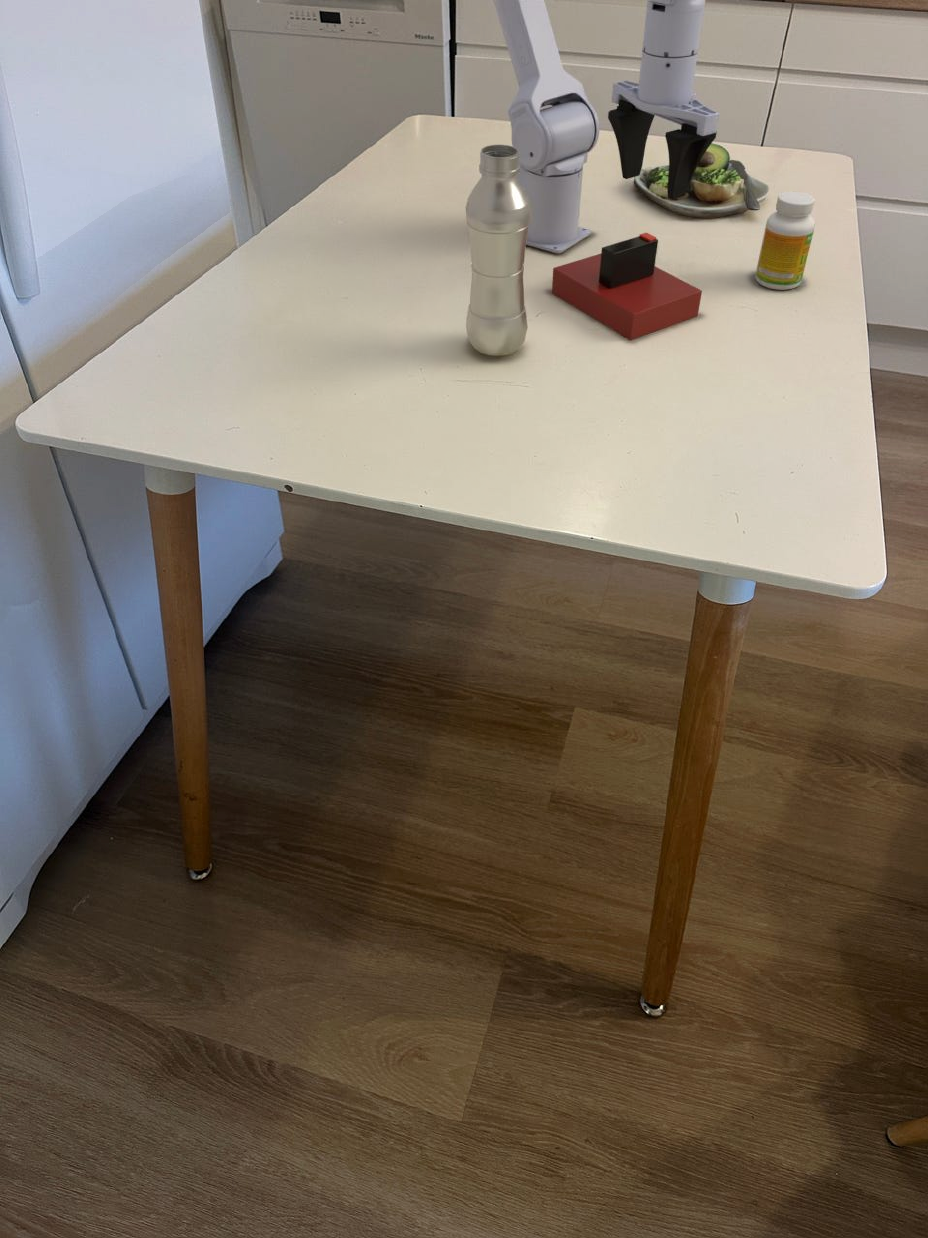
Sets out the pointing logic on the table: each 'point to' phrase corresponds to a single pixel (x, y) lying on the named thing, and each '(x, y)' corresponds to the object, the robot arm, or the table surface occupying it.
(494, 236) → the metal water bottle
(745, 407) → the table surface
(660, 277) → the red rectangular block
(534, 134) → the robot arm
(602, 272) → the block
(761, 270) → the supplement bottle
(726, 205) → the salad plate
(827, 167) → the table surface
